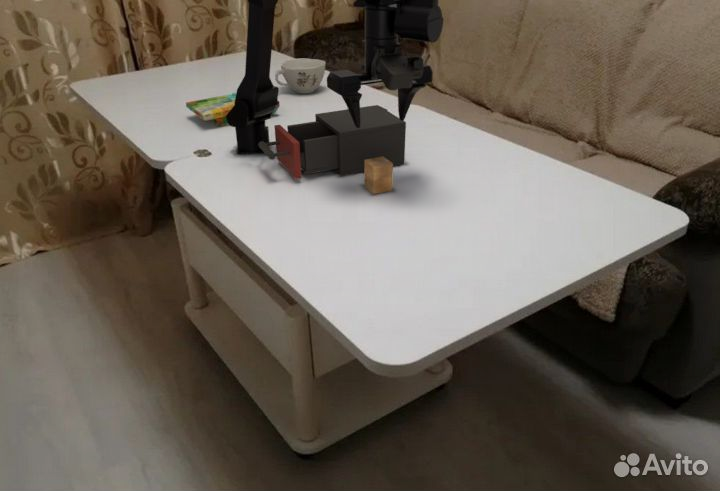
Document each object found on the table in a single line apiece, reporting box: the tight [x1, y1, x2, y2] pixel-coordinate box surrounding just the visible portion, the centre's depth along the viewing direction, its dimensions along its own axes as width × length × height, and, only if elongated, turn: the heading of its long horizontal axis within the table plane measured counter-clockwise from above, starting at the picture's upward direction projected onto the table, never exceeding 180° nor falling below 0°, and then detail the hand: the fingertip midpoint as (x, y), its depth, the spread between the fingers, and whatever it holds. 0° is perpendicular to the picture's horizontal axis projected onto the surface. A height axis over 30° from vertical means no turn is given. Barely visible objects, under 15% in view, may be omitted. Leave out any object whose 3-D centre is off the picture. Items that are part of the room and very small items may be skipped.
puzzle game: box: [185, 92, 281, 127], centre depth 149 cm, size 12×5×20 cm
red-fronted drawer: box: [258, 120, 339, 180], centre depth 119 cm, size 18×11×7 cm, turn 115°
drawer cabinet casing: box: [314, 104, 407, 177], centre depth 124 cm, size 15×13×9 cm
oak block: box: [363, 156, 394, 195], centre depth 112 cm, size 4×4×6 cm
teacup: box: [274, 57, 327, 94], centre depth 168 cm, size 15×12×8 cm
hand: (380, 123), depth 110 cm, fingers open, 9 cm apart
